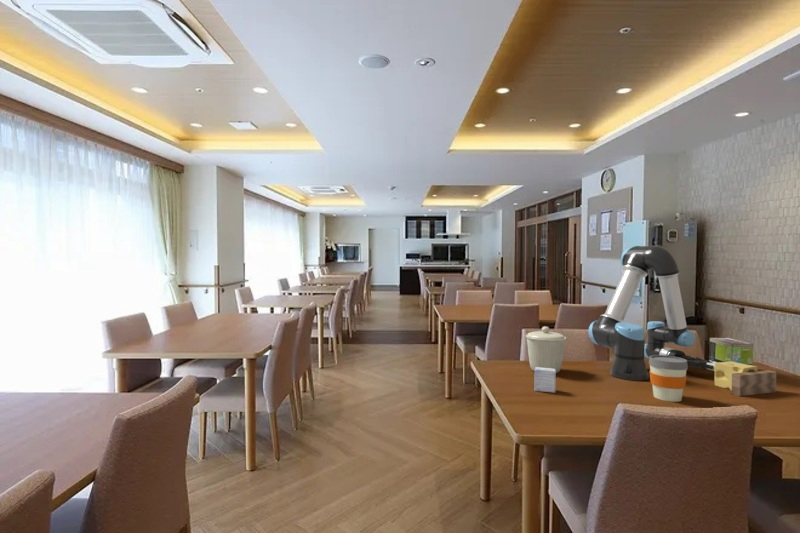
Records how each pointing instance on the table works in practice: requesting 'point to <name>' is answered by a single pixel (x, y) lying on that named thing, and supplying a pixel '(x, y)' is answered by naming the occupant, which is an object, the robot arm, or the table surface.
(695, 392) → the table surface
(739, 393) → the walnut board
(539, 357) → the canister
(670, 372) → the reusable coffee cup
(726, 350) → the tea box
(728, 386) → the cheese
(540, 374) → the medicine box
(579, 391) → the table surface
